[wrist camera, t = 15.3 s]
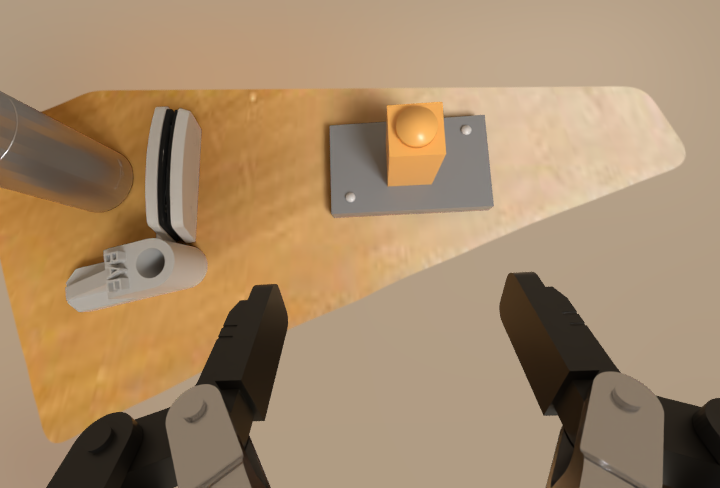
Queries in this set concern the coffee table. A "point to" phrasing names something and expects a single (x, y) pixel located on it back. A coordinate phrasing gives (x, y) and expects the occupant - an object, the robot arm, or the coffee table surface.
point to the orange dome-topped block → (414, 143)
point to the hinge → (173, 174)
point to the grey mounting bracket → (135, 274)
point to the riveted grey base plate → (374, 198)
